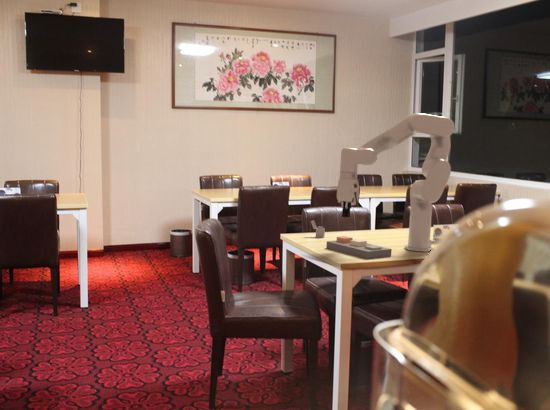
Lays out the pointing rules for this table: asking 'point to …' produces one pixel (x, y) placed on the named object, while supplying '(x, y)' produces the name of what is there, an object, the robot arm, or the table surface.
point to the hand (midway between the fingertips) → (345, 217)
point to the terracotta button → (344, 239)
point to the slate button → (373, 247)
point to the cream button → (358, 243)
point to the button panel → (358, 250)
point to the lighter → (318, 230)
